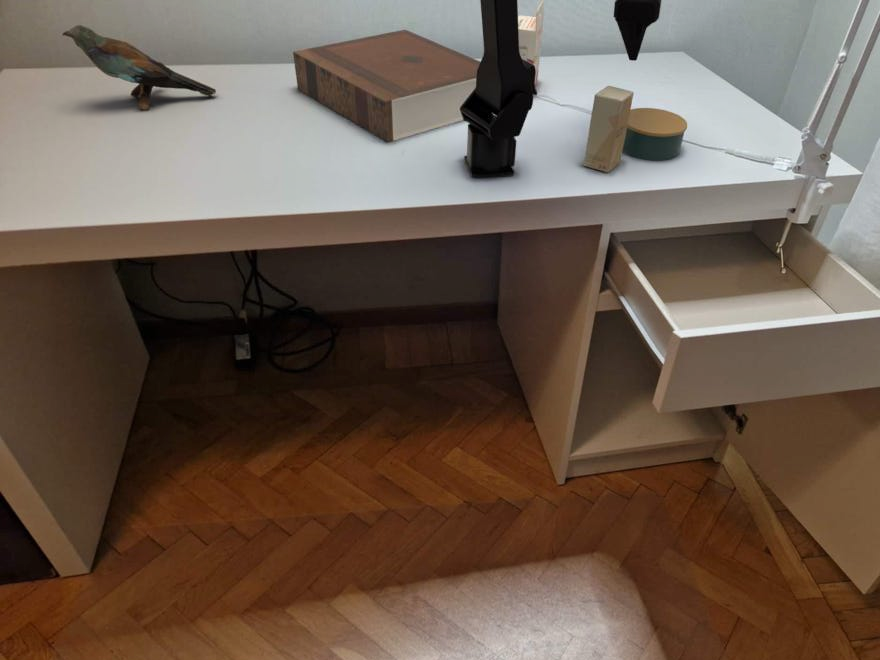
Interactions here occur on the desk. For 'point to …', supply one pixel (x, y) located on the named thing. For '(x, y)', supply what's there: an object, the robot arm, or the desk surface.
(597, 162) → the box
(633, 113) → the tin
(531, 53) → the ink cartridge box
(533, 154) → the desk surface
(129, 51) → the bird figurine
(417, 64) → the book
